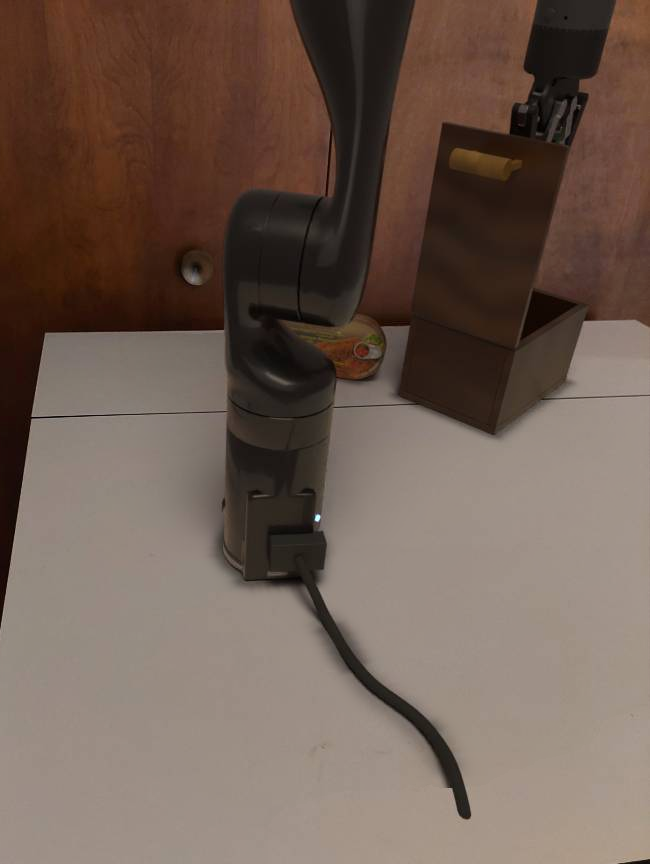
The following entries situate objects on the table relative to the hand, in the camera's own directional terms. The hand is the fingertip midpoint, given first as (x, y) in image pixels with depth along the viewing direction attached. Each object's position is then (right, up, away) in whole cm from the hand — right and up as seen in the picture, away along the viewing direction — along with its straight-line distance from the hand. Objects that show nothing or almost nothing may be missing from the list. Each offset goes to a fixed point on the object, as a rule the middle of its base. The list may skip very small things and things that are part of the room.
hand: (529, 196), depth 92 cm
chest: (-1, -19, +15) cm, 25 cm away
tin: (-21, -16, +18) cm, 32 cm away
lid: (-6, -6, -4) cm, 10 cm away
